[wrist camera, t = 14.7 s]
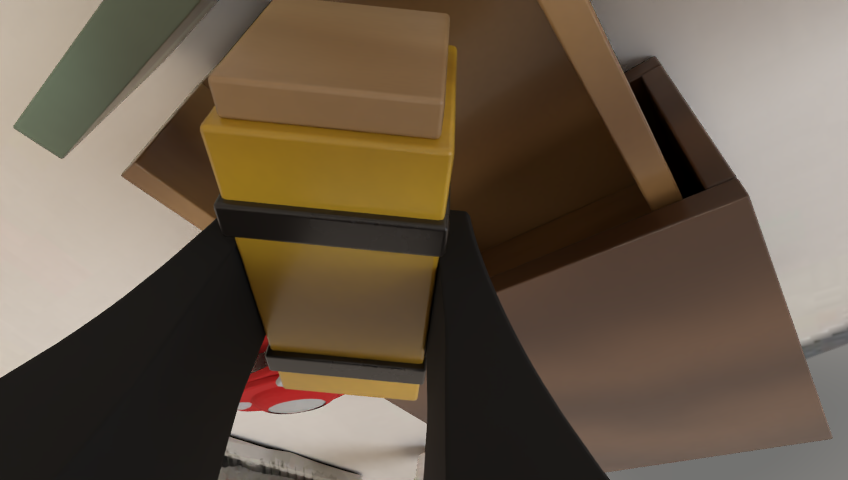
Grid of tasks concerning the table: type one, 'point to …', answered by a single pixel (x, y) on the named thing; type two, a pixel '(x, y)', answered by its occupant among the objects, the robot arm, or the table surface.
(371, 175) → the pencil bundle
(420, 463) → the lightbulb
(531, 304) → the cabinet
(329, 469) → the packaged product
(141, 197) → the table surface
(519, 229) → the drawer
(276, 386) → the tracker holder
